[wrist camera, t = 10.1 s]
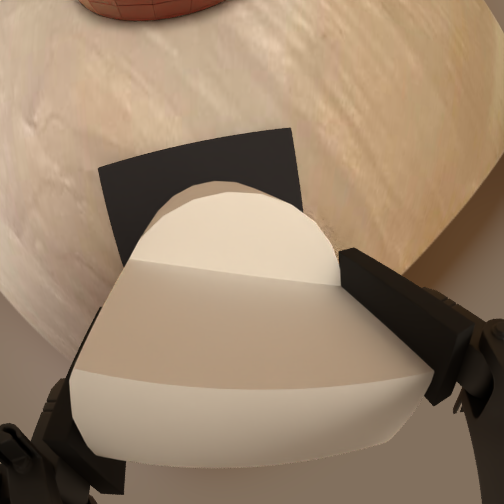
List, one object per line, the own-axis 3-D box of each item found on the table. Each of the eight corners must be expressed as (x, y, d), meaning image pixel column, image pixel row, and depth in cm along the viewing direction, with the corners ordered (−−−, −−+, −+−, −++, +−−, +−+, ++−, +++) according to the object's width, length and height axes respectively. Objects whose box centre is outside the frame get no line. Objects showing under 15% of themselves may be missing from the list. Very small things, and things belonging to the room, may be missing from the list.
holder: (150, 334, 23) (149, 339, 22) (100, 167, 18) (97, 168, 17) (309, 296, 25) (312, 300, 24) (287, 128, 20) (291, 127, 19)
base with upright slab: (310, 198, 17) (484, 269, 5) (274, 331, 19) (355, 483, 8) (154, 168, 14) (49, 189, 3) (137, 317, 17) (103, 496, 5)
